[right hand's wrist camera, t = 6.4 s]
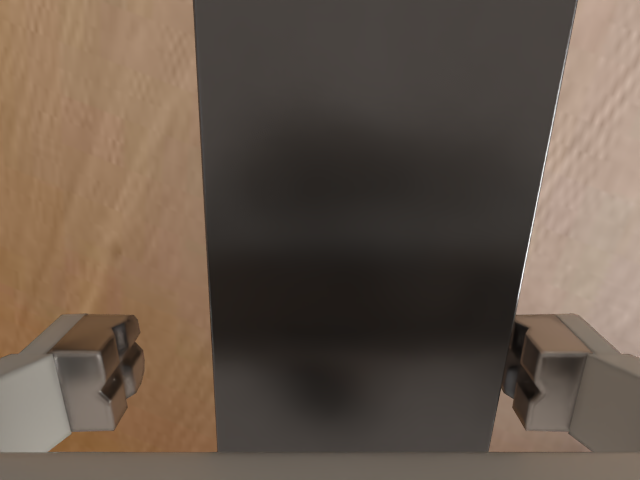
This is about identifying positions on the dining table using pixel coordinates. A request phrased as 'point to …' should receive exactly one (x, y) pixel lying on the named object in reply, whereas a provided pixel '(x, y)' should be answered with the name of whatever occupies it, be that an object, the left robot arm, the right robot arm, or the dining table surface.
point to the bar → (370, 212)
